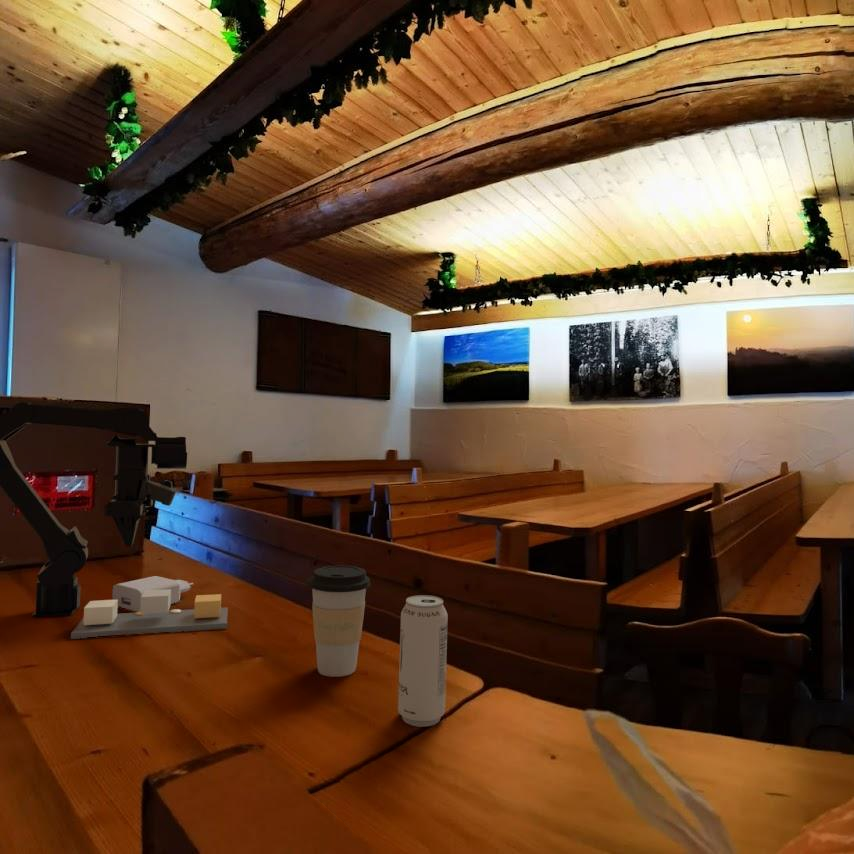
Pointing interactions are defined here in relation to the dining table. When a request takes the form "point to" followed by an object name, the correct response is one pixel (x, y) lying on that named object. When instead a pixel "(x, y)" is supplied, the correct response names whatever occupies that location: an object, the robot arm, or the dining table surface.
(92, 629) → the keypad base
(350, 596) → the coffee cup
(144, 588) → the charger
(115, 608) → the key cream
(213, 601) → the key amber
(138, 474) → the robot arm
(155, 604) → the key grey
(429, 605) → the energy drink can
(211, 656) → the dining table surface
